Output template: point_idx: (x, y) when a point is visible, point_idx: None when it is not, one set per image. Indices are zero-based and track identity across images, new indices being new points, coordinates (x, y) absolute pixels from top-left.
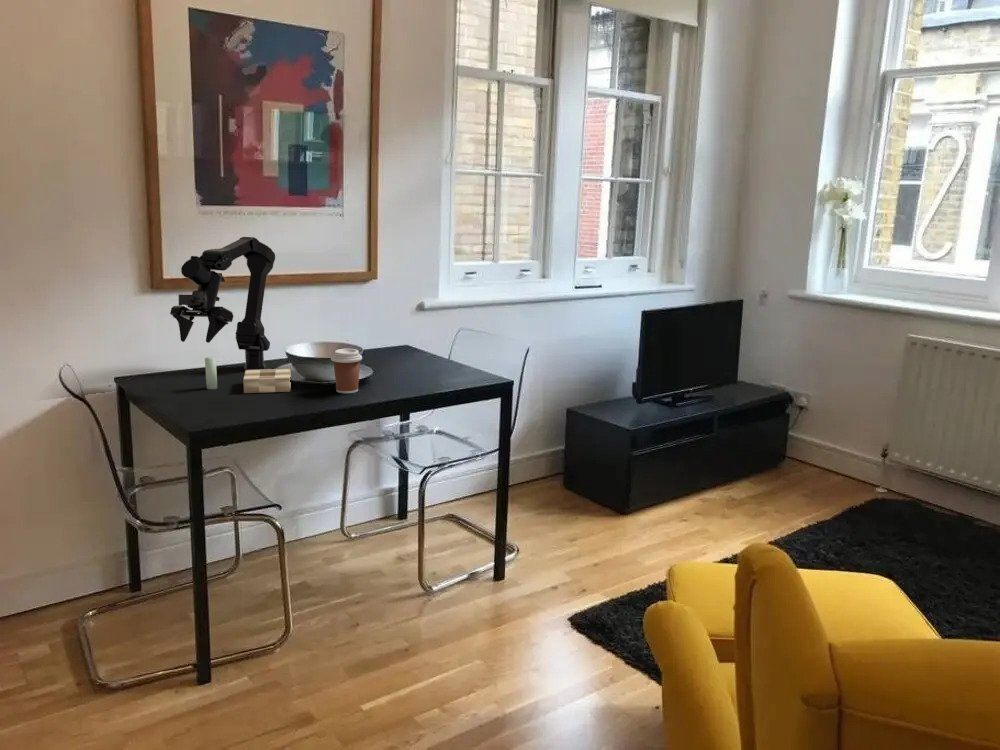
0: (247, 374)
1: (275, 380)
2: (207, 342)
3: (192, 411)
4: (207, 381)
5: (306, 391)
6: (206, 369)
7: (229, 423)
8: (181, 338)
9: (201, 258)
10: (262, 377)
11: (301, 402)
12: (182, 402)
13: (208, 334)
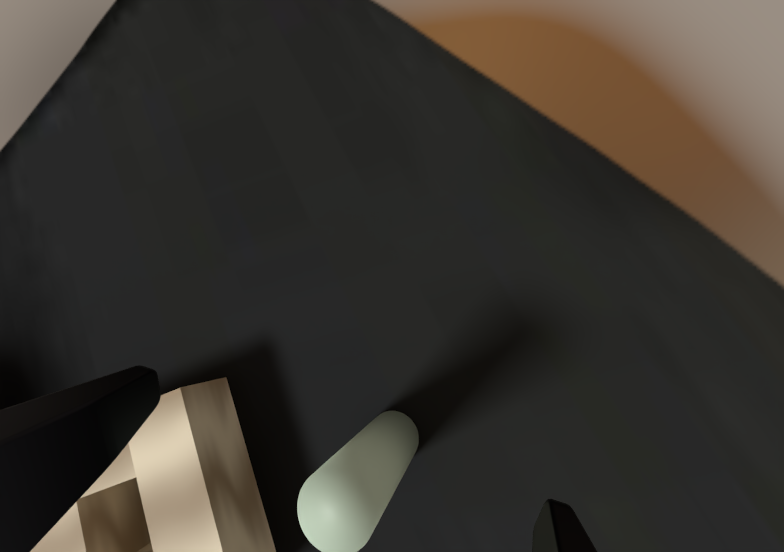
0: (196, 502)
1: None
2: (156, 385)
3: (304, 79)
4: (393, 423)
5: None
6: (376, 446)
7: (143, 15)
8: (563, 522)
9: None
10: None
11: (16, 300)
12: (402, 172)
13: (31, 408)
